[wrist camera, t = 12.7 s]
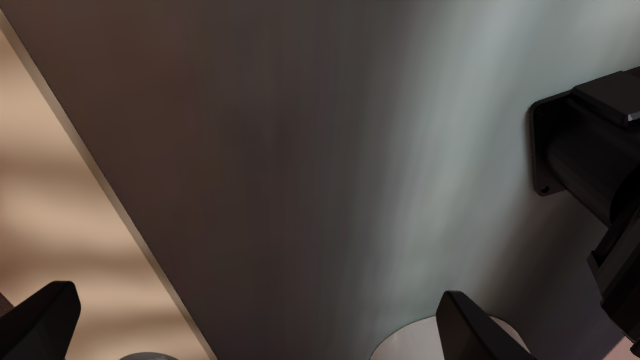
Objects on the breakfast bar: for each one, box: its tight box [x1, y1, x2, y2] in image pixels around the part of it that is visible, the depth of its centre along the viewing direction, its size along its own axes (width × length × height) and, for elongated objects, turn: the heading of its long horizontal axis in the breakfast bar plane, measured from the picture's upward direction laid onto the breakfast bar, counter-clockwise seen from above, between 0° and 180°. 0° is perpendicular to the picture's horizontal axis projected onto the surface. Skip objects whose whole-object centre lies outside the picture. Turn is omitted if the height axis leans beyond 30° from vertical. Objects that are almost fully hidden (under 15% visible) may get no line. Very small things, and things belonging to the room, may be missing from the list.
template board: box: [0, 8, 218, 360], centre depth 25 cm, size 33×10×1 cm, turn 13°
